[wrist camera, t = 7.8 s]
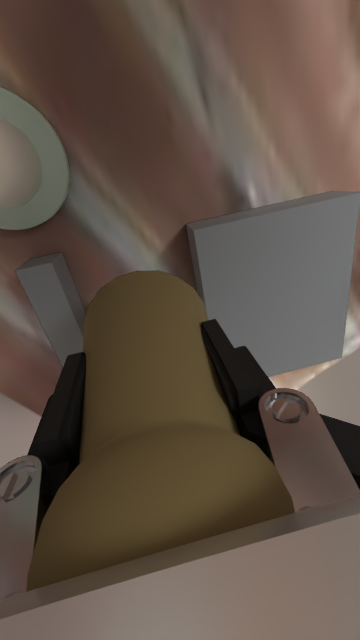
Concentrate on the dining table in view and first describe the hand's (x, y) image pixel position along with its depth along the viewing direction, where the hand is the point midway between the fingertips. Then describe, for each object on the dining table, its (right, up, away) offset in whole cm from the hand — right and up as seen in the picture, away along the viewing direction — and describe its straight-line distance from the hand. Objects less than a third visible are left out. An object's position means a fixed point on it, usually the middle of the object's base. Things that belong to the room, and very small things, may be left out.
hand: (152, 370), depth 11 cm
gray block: (+3, +3, +10) cm, 11 cm away
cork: (-1, +2, +3) cm, 3 cm away
